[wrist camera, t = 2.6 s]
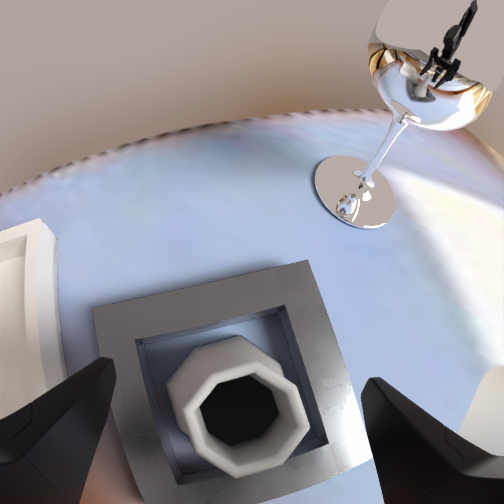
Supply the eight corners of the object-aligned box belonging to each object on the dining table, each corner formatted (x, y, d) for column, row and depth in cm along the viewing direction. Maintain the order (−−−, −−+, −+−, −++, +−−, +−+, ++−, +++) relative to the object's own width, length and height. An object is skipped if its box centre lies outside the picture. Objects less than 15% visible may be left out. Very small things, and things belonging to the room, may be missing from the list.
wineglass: (408, 226, 22) (556, 45, 4) (331, 237, 21) (490, -31, 3) (373, 156, 25) (467, -20, 7) (300, 156, 24) (376, -71, 6)
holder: (357, 452, 14) (372, 457, 12) (158, 507, 11) (152, 520, 10) (299, 271, 19) (307, 259, 17) (104, 315, 16) (92, 307, 15)
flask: (145, 378, 15) (63, 370, 6) (244, 315, 18) (275, 241, 9) (216, 473, 13) (218, 564, 4) (313, 407, 16) (413, 424, 7)
